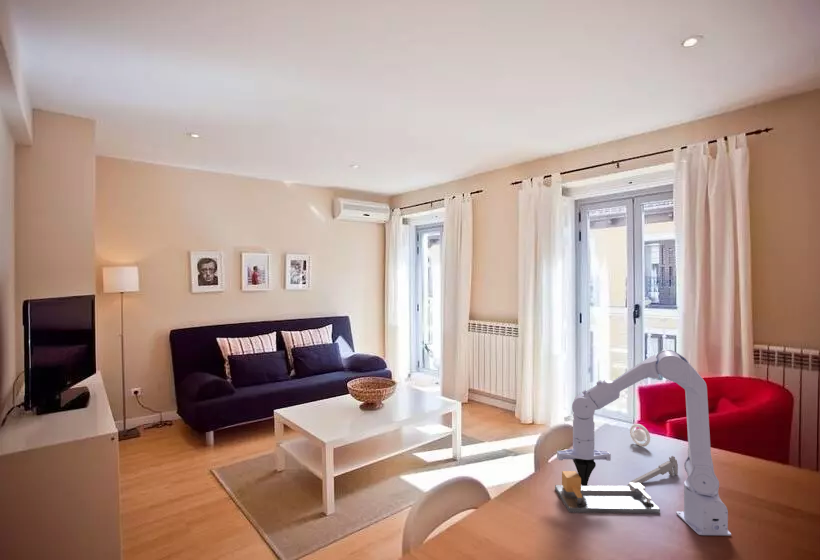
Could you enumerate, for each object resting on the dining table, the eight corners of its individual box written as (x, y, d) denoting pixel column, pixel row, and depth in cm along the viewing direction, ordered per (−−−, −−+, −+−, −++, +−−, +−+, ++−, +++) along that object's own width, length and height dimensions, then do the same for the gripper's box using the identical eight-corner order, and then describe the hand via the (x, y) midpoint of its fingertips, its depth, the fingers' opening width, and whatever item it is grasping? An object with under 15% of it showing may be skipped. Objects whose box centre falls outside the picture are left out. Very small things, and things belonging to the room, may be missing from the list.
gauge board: (660, 513, 112) (660, 500, 112) (569, 512, 113) (569, 499, 112) (637, 489, 124) (637, 478, 124) (555, 489, 125) (555, 477, 124)
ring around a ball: (653, 449, 152) (653, 427, 152) (642, 452, 150) (642, 429, 149) (633, 441, 159) (633, 420, 159) (622, 443, 157) (623, 422, 157)
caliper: (674, 474, 134) (674, 454, 134) (677, 475, 133) (678, 456, 133) (627, 486, 126) (627, 466, 126) (630, 488, 125) (630, 467, 125)
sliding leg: (587, 504, 114) (587, 486, 114) (572, 503, 114) (572, 486, 114) (575, 487, 122) (575, 471, 122) (561, 487, 122) (561, 471, 122)
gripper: (603, 431, 124) (603, 477, 124) (553, 431, 124) (553, 477, 124) (614, 441, 117) (613, 489, 117) (561, 441, 117) (561, 489, 117)
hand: (583, 484), depth 120 cm, fingers closed
